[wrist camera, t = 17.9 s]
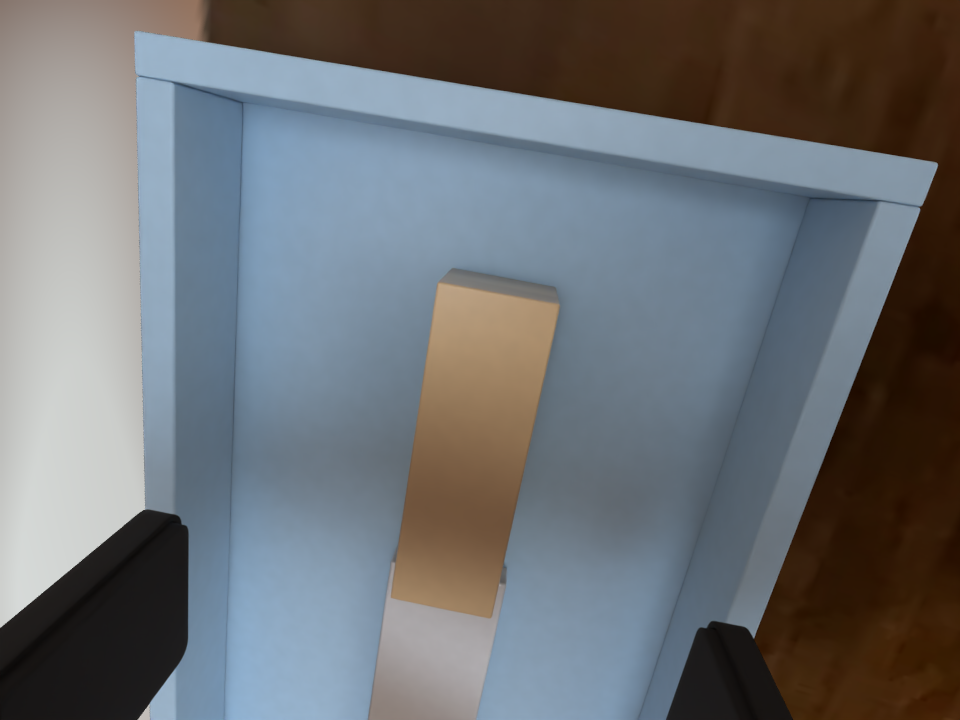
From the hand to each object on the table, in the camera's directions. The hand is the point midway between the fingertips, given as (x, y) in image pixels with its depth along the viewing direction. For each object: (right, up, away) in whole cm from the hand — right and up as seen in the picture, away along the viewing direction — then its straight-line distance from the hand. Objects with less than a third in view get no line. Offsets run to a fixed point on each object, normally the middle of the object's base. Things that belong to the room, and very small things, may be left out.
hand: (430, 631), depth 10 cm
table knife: (0, -1, +5) cm, 5 cm away
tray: (0, -1, +6) cm, 6 cm away
